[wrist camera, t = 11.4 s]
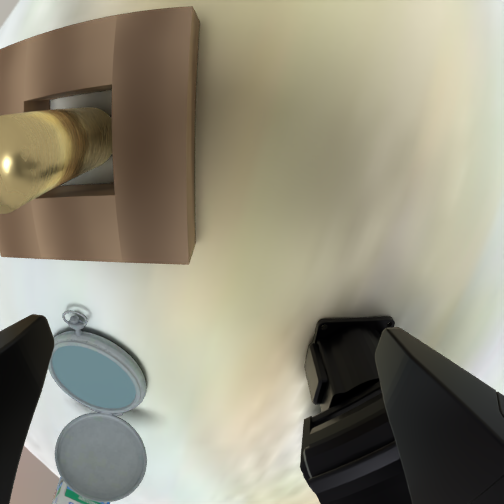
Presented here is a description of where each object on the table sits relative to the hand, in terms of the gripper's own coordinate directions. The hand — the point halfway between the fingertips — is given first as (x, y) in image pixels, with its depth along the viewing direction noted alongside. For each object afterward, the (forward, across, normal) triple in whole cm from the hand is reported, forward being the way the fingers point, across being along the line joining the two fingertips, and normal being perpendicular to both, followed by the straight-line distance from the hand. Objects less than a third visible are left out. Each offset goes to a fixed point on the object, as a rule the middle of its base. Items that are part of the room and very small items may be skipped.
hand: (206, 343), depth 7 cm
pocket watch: (+13, +12, +16) cm, 24 cm away
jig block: (+13, +9, -4) cm, 16 cm away
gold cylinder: (+13, +9, -4) cm, 16 cm away
